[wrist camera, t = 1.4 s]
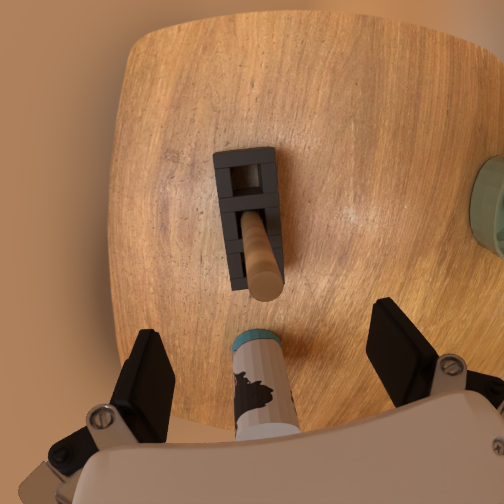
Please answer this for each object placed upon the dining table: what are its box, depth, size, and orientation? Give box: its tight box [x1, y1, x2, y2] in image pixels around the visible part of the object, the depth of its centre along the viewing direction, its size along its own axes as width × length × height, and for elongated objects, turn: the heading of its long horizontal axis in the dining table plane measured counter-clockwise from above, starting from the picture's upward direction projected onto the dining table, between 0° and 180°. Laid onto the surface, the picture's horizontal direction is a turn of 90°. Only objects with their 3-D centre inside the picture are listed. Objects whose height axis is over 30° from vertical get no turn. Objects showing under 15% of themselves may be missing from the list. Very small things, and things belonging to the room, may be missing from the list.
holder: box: [213, 147, 285, 291], centre depth 29 cm, size 14×6×4 cm, turn 6°
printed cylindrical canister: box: [232, 329, 300, 441], centre depth 31 cm, size 7×7×15 cm
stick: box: [240, 209, 284, 302], centre depth 23 cm, size 2×2×16 cm
